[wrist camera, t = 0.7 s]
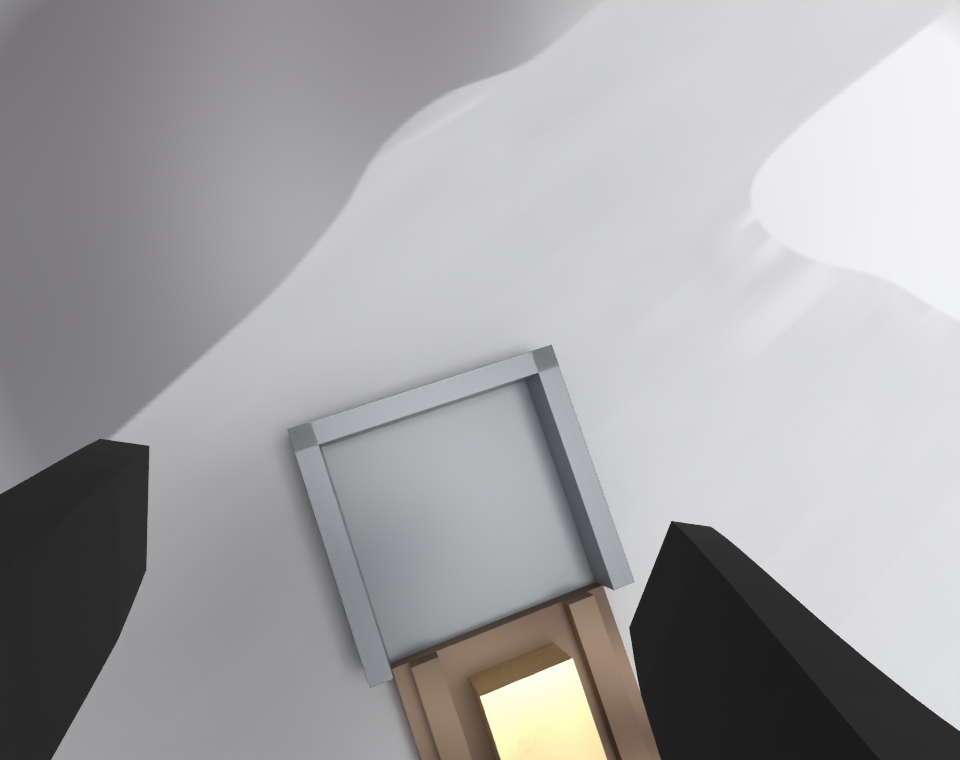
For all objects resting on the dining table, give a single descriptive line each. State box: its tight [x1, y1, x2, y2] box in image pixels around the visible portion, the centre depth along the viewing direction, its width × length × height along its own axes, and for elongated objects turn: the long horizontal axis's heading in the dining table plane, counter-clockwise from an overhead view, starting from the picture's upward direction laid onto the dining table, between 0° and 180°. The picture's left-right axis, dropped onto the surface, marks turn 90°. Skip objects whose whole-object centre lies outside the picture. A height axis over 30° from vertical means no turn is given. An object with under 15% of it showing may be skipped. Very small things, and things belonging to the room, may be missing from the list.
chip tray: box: [287, 345, 635, 688], centre depth 32 cm, size 11×12×3 cm
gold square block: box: [469, 642, 607, 760], centre depth 30 cm, size 4×4×3 cm
